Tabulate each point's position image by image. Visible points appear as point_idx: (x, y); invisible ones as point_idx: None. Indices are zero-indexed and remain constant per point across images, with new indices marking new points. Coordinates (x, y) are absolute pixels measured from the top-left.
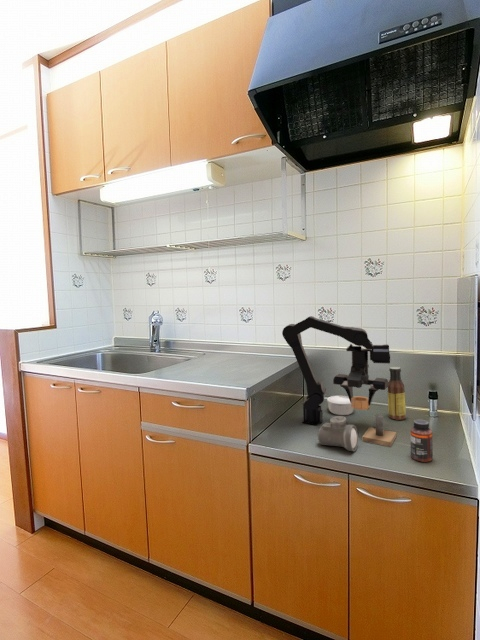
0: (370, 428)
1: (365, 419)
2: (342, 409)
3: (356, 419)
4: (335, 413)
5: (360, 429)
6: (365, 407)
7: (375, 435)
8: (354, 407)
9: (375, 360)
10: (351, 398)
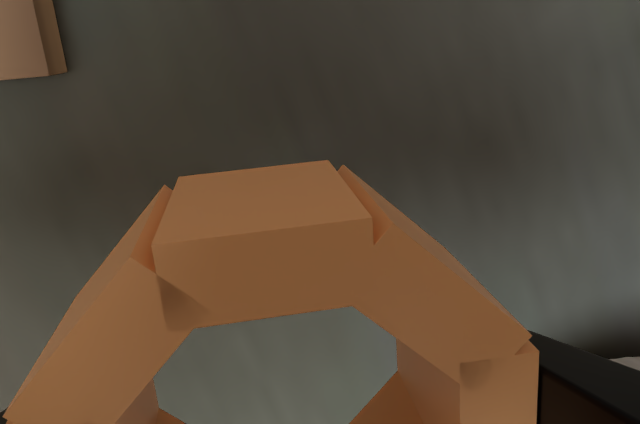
0: (16, 46)
1: (283, 410)
2: None
3: (371, 353)
4: (634, 357)
5: (201, 79)
6: (97, 271)
7: None
8: (345, 175)
9: None
10: (533, 371)
